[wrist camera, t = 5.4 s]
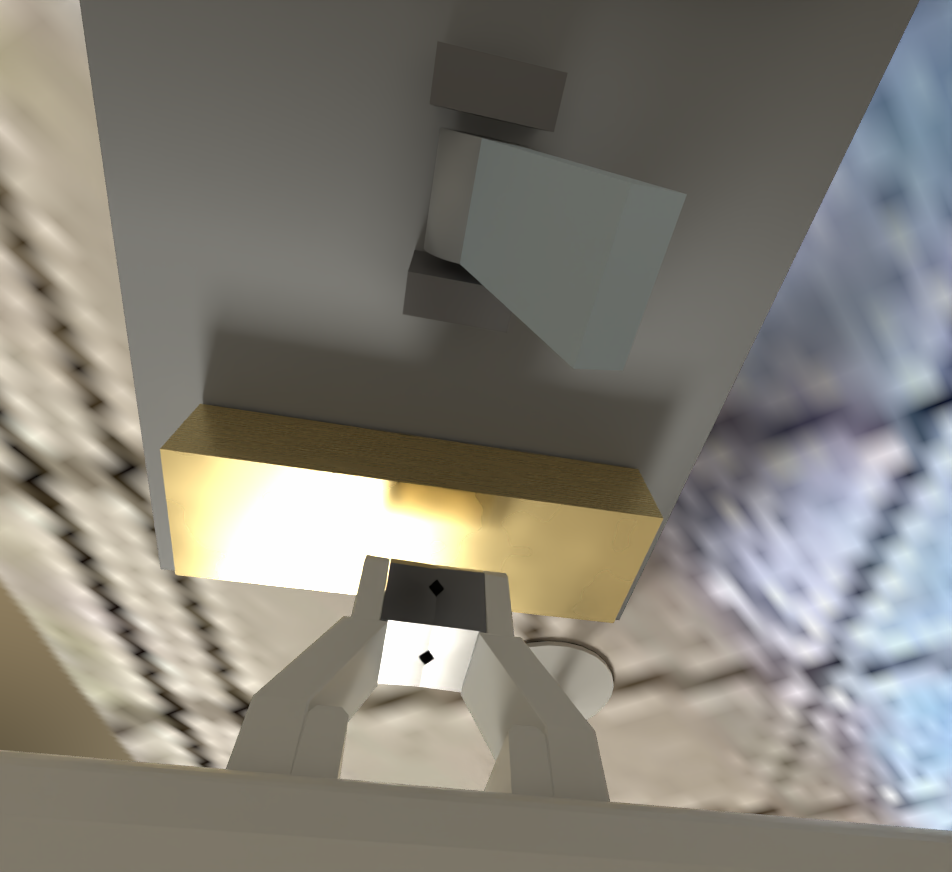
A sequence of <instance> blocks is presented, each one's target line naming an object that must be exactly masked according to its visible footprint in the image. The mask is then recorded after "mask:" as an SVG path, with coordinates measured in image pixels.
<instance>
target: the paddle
mask: <svg viewBox="0 0 952 872" xmlns="http://www.w3.org/2000/svg"><path fill="white" fill-rule="evenodd" d="M686 196H687V194H684V193H681V192H677V191H674V190H670V189H667V188H663V187H660V186H656V185H653V184H649V183H646V182H643V181H639V180H636V179H632V178H629V177H625V176H622V175H618V174H615V173H611V172H608V171H604V170H601V169H597V168H594V167H590V166H587V165H584V164H580V163H577V162H573V161H570V160H566V159H563V158H559V157H556V156H552V155H549V154H545V153H542V152H538V151H535V150H532V149H531V148H530V147H527V146H523V145H519V144H515V143H511V142H507V141H503V140H499V139H494V138H490V137H485V136H481V135H476V134H472V133H467V132H462V131H458V130H453V129H447V128H440V135H439V142H438V149H437V156H436V163H435V170H434V178H433V185H432V192H431V199H430V206H429V213H428V220H427V228H426V235H425V242H424V249H425V251H427V252H428V253H430V254H431V255H434V256H436V257H438V258H441V259H444V260H447V261H450V262H454V263H458V264H460V265H462V266H463V267H464V268H465V269H466V270H467V271H468V272H469V273H470V274H471V275H472V276H473V277H475V278H476V279H477V280H478V281H479V282H480V283H481V284H482V285H483V286H484V287H485V288H486V289H488V290H489V291H490V292H491V293H492V294H493V295H494V296H495V297H496V298H497V299H498V300H500V301H501V302H502V303H503V304H504V305H505V306H506V307H507V308H508V309H509V310H510V311H511V312H513V313H514V314H515V315H516V316H517V317H518V318H519V319H520V320H521V321H522V322H523V323H524V324H526V325H527V326H528V327H529V328H530V329H531V330H532V331H533V332H534V333H535V334H536V335H537V336H539V337H540V338H541V339H542V340H543V341H544V342H545V343H546V344H547V345H548V346H549V347H551V348H552V349H553V350H554V351H555V352H556V353H557V354H558V355H559V356H560V357H561V358H562V359H564V360H565V361H566V362H567V363H568V364H569V365H570V366H571V367H572V368H573V369H592V370H620V371H623V369H624V366H625V363H626V361H627V358H628V355H629V352H630V350H631V347H632V344H633V341H634V339H635V336H636V333H637V330H638V328H639V325H640V322H641V319H642V317H643V314H644V311H645V308H646V306H647V303H648V300H649V297H650V295H651V292H652V289H653V286H654V284H655V281H656V278H657V275H658V273H659V270H660V267H661V264H662V262H663V259H664V256H665V253H666V251H667V248H668V245H669V242H670V240H671V237H672V234H673V231H674V229H675V226H676V223H677V220H678V218H679V215H680V212H681V209H682V207H683V204H684V201H685V198H686Z"/></svg>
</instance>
